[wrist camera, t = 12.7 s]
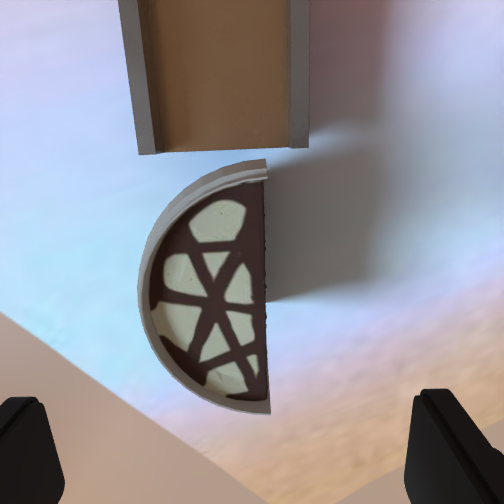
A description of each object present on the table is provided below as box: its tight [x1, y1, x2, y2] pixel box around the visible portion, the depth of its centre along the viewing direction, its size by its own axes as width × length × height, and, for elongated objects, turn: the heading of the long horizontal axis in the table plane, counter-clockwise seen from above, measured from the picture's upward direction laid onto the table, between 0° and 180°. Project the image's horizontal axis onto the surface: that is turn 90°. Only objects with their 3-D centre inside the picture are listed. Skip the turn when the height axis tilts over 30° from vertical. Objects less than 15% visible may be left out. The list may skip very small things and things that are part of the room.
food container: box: [137, 159, 271, 415], centre depth 20 cm, size 12×6×10 cm, turn 2°
